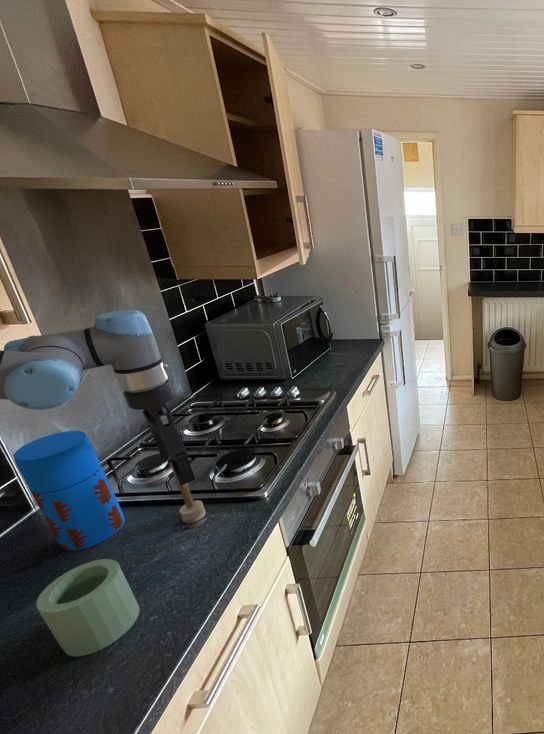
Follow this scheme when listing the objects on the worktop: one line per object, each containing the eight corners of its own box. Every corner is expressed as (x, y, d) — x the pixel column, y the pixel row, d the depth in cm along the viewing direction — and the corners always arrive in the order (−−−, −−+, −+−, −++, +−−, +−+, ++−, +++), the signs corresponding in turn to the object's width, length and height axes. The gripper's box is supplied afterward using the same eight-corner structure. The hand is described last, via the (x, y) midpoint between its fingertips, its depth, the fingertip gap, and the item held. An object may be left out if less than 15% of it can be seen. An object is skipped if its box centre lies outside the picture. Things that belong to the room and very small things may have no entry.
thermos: (114, 513, 101) (73, 425, 92) (137, 528, 97) (97, 437, 87) (53, 545, 92) (2, 451, 83) (76, 563, 88) (24, 466, 78)
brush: (188, 531, 96) (162, 463, 89) (182, 522, 99) (156, 455, 92) (210, 520, 99) (186, 454, 92) (203, 511, 102) (180, 446, 95)
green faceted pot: (67, 670, 69) (39, 625, 65) (59, 630, 75) (33, 587, 71) (145, 623, 76) (124, 580, 72) (132, 591, 82) (112, 549, 78)
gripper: (186, 396, 81) (216, 484, 89) (153, 363, 95) (181, 441, 103) (137, 412, 75) (174, 503, 83) (110, 374, 90) (143, 455, 98)
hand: (178, 469), depth 93 cm, fingers open, 13 cm apart
